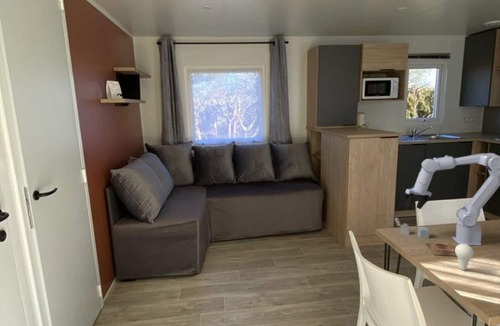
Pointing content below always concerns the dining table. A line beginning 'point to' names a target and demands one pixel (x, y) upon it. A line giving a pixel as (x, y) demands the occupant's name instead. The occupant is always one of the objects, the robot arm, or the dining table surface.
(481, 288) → the dining table surface
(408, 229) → the lighter
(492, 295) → the dining table surface
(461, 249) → the lightbulb
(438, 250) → the base plate
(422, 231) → the block
